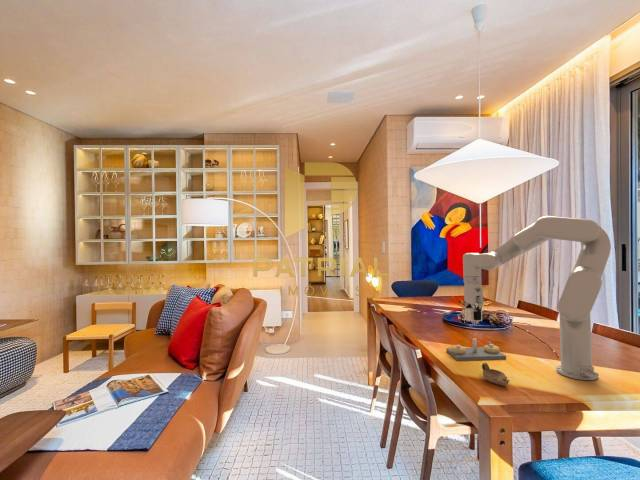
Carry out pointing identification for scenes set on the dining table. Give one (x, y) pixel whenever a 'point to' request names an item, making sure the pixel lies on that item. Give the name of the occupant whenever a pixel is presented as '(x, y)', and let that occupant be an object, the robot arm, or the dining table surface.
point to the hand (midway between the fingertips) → (473, 317)
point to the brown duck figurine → (494, 375)
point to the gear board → (476, 352)
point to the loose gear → (471, 315)
